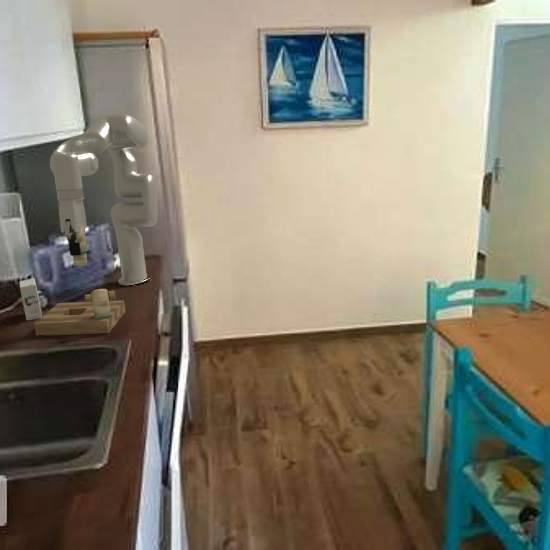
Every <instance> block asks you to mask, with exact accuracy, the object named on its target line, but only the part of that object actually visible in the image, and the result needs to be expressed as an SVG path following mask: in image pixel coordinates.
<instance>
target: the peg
mask: <svg viewBox="0 0 550 550" xmlns="http://www.w3.org/2000/svg"><path fill="white" fill-rule="evenodd" d="M72 232H74V231H71V233H72ZM85 235H86V231H85V232H84V226H83V227H81V231H80V232H78V242H79V243H80V249H81V255H76V256H72V259H73V265H74V267H83V266H87V265H88V257H87V252H88V245H87V246H86V244H87V238H85ZM73 236H74V237H75V235H73Z"/></svg>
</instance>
